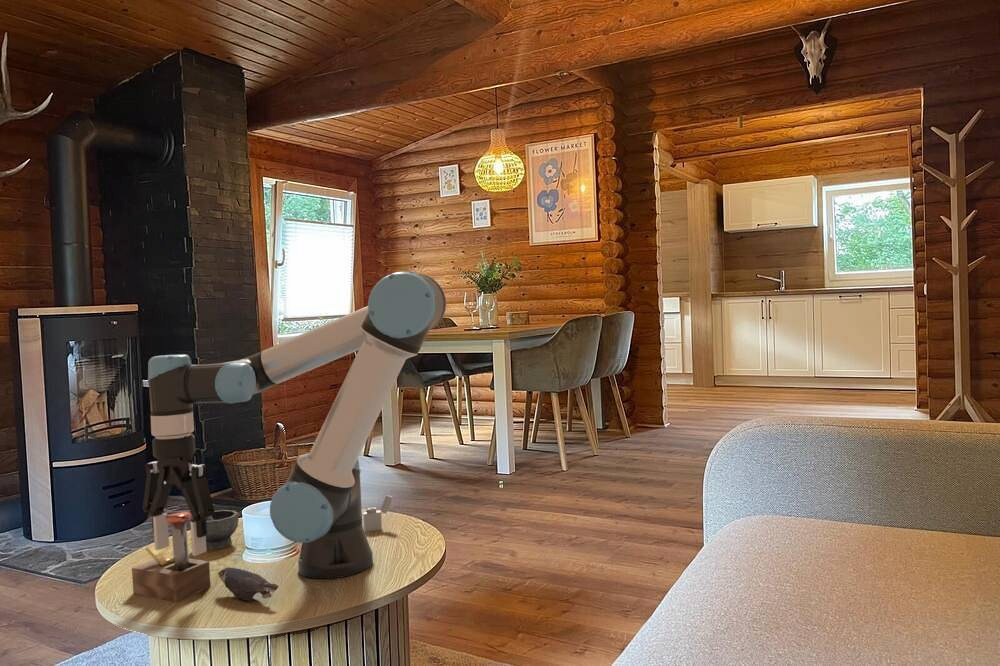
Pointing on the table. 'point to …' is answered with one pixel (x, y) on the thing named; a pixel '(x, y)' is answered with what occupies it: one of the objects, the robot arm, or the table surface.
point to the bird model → (246, 583)
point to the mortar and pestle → (220, 528)
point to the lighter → (375, 516)
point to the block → (170, 580)
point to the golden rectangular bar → (160, 555)
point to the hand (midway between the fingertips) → (180, 550)
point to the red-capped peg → (179, 539)
